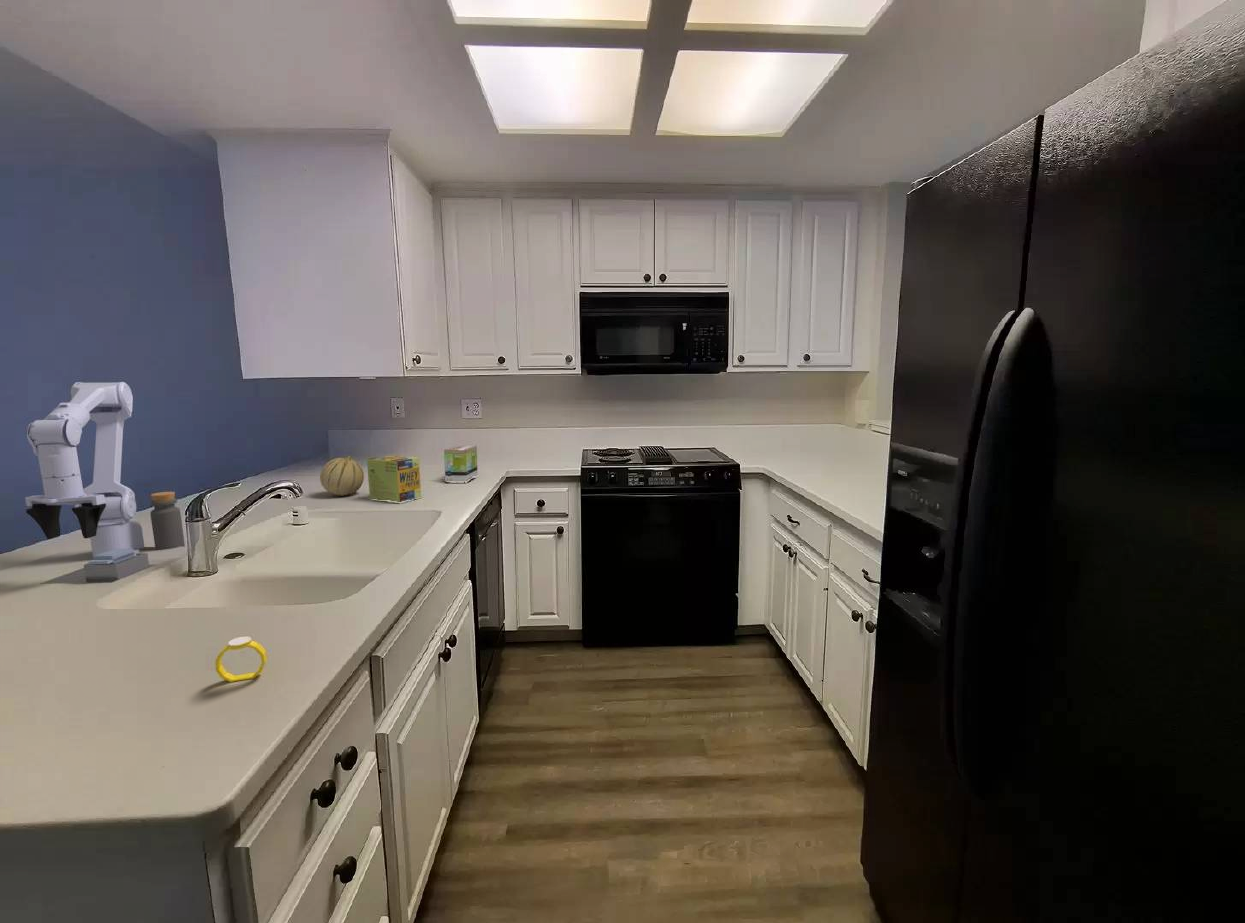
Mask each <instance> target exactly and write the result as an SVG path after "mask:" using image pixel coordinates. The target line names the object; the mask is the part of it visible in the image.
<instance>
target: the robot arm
mask: <svg viewBox="0 0 1245 923" xmlns="http://www.w3.org/2000/svg"><path fill="white" fill-rule="evenodd" d="M132 393H133V392H132V390H131V387H130V385H128V384H127V383H126V382H125V381H119V382H80V381H77V382H74V383H73V384H72V386H71V388H70V397H71V399H70V401H69V402H60V403H59V404H58V405H57V406H56V407H55V408H54V409H53V410H52V411H51V412H50V413H49V414H48V415H46V417H45V418H44V419H36V420H34V421H33V422H31V423H29V424H28V426H27V429H26V433H27V434H26V438H27V440H28V441H27V442H28V443H29V444H30V445H31V447H32V450H33V451H32V452H33V454H34V456H35V457H36V456H37V457H38V462H39V463H38V464H39V469H40V475H41V480H42V486H43V492H44V494H43V495H39V494H38V495H31V496H26V497H25V496H24V499H25V504H26V505H25V506H26V507H31V508H27V509H25V512H26V514H27V515H28V516H30V517H31V518H32V519H33V520H34V521H35V522H36V523H37V525H38V526H39V527H40V528H41V530H42V532H43V534H44V536H45V537H46V539H47V540H52V539H54V538H55V539H56V538H59V537H61V524H60V515H61V509H62V507H63V506H74V507H72V508H71V511H72V512H73V513H74V515H75V519H77V521H78V523H79V526H80V530H81V534H82V537H83V539H89V540H90V547H91V553H92V558H93V559H94V556H95V555H98V554H101V553H104V552H107V551H110V550H113V549H133V550H140V549H144V548H145V542H144V541H145V540H144V534H143V533H144V532H143V527H142V525H141V523H140V522H139V521H138V520H137V519H135V518H134V517H135V516H136V513H137V502H136V498H135V496H136V494H135V492H134V491H133V489H131V488H130V487H128V486H126V485H123V484H122V483H121V479H122V478H121V476H122V457H123V439H124V438H123V435H124V424H125V421H126V420H127V419H129V418H132V412H133V403H134V396H133V394H132ZM89 421H93V422H95V423H96V430H95V442H94V443H95V446H94V460H93V472H92V473H93V475H92V477H93V478H92V483H91V484H89V485H87V486H86V487H83V486H84V485H83V481H82V474H81V469H80V464H79V457H78V450H77V445H79V444H80V442H81V436H82V434H83V430H82V429H83V428H84V427H85V426H86V425H87V424H88V422H89Z"/></svg>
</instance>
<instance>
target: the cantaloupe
mask: <svg viewBox="0 0 1245 923" xmlns="http://www.w3.org/2000/svg"><path fill="white" fill-rule="evenodd" d="M319 476H320V477H319V480H320V484H321V486H322V487H323V489H324V490H326V492H328V493H329V494H332V495H334V496H338V495H347V494H350V495H352V494H355V493H356V492H358V491H359V490H360V488H361V487H362V485H363V483H364V480H365V473H364V470H363V467H362V466H361V465H360V463H358V462H357V461H356V460H354V459H352V457H351V455H348V457H336V458H333V459H331V460H330V461H328V462H327V463H326V464H324V466H322V469H321V471H320V475H319ZM347 496H348V495H347Z"/></svg>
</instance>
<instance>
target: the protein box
mask: <svg viewBox="0 0 1245 923" xmlns="http://www.w3.org/2000/svg"><path fill="white" fill-rule="evenodd" d="M366 465H367V477H368V478H367V480H368V490H369V499H370V498H371V499H377V500H391V501H397V502H402V501H406V500H412V499H415V498H418V497H421V498H422V485H421V472H420V458H419V457H418V456H415V457H414V456H401V455H385V456H378V457H371V458H367V459H366Z"/></svg>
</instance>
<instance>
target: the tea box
mask: <svg viewBox="0 0 1245 923" xmlns="http://www.w3.org/2000/svg"><path fill="white" fill-rule="evenodd" d="M443 452H444V479H445V480H444V482H445V481H468V480H469V479H471V478H472V477H473V476H476V475H477V474H479V473H478V450H477V445H455V446H452V447H449V448H445V449H444V451H443Z"/></svg>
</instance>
